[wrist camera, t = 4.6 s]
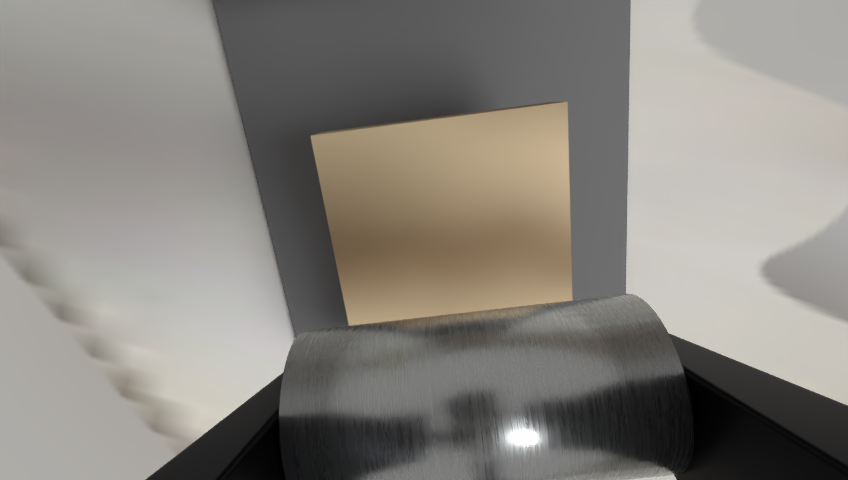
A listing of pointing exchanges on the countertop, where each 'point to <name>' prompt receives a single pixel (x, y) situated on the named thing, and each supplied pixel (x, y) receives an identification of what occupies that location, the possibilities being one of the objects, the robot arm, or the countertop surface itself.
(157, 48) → the countertop surface
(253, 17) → the rubber mat
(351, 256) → the oak slab
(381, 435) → the loose steel roller
